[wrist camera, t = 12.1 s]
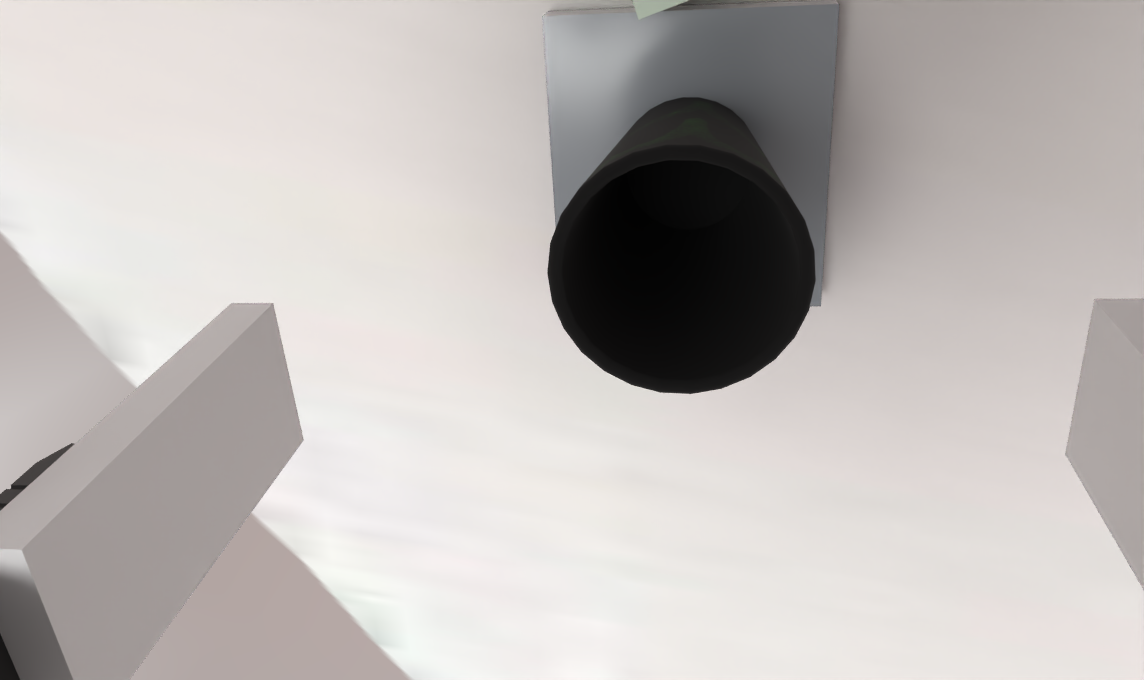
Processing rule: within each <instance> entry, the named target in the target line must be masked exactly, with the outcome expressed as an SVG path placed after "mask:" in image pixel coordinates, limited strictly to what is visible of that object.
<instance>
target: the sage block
mask: <svg viewBox="0 0 1144 680" xmlns="http://www.w3.org/2000/svg"><path fill="white" fill-rule="evenodd" d="M686 1H689V0H632V2H633V5H634V7H635V10H636V13H637V16H638V19H642V18H645V17H647V16H650V15H652V14H655V13H657V12H660V11H663V10H665V9H668V8H670V7H673V6H676V5H678V4H681V3H683V2H686Z"/></svg>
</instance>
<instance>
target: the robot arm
mask: <svg viewBox="0 0 1144 680" xmlns="http://www.w3.org/2000/svg"><path fill="white" fill-rule="evenodd" d="M303 440H304V439H303V435H302V430H301V426H300V421H299V417H298V413H297V408H296V404H295V399H294V395H293V390H292V386H291V381H290V377H289V372H288V368H287V363H286V359H285V354H284V350H283V345H282V341H281V337H280V332H279V328H278V323H277V319H276V314H275V310H274V305H273V303H231V304H230V305H229V306H228V307H227V308H226V309H225V310H224V311H222V312H221V313H220V314H219V315H218V316H217V317H216V318H215V319H213V320H212V321H211V322H210V323H209V324H208V325H207V326H206V327H205V328H203V329H202V330H201V331H200V332H199V333H198V334H197V335H196V336H195V337H193V338H192V339H191V340H190V341H189V342H188V343H187V344H186V345H185V346H183V347H182V348H181V349H180V350H179V351H178V352H177V353H176V354H174V355H173V356H172V357H171V358H170V359H169V360H168V361H167V362H166V363H164V364H163V365H162V366H161V367H160V368H159V369H158V370H157V371H156V372H154V373H153V374H152V375H151V376H150V377H149V378H148V379H147V380H146V381H144V382H143V383H142V384H141V385H140V386H139V387H138V388H137V389H135V390H134V391H133V392H132V393H131V394H130V395H129V396H128V397H127V398H126V399H124V400H123V401H122V402H121V403H120V404H119V405H118V406H117V407H115V408H114V409H113V410H112V411H111V412H110V413H109V414H108V415H107V416H105V417H104V418H103V419H102V420H101V421H100V422H99V423H98V424H97V425H95V426H94V427H93V428H92V429H91V430H90V431H89V432H88V433H86V434H85V435H84V436H83V437H82V438H81V439H80V440H79V441H78V442H77V443H75V444H72V443H71V444H70V445H68V446H66V447H64V448H63V449H61V450H59V451H57V452H55V453H53V454H51V455H50V456H48V457H46V458H45V459H42V460H40V461H39V462H37V463H36V464H34V465H33V466H32V467H31V468H30V469H29V470H28V471H26V472H25V473H24V474H23V475H22V476H21V477H20V478H19V479H17V480H16V481H15V482H14V483H13V484H12V485H11V489H6V490H5V491H4V492H2V493H1V494H0V680H130V679H131V677H132V676H133V675H134V673H135V672H136V670H137V669H138V668H139V666H140V665H141V664H142V662H143V660H144V659H145V658H146V657H147V655H148V654H149V652H150V651H151V650H152V648H153V647H154V646H155V644H156V643H157V641H158V640H159V639H160V637H161V636H162V635H163V633H164V632H165V630H166V629H167V628H168V626H169V625H170V623H171V622H172V621H173V619H174V618H175V617H176V615H177V614H178V613H179V611H180V610H181V608H182V607H183V606H184V604H185V603H186V601H187V600H188V599H189V597H190V596H191V595H192V593H193V592H194V590H195V589H196V588H197V586H198V585H199V583H200V582H201V581H202V579H203V578H204V577H205V575H206V574H207V573H208V571H209V570H210V568H211V567H212V566H213V564H214V563H215V562H216V560H217V559H218V557H219V556H220V555H221V553H222V552H223V551H224V549H225V548H226V546H227V545H228V543H229V542H230V541H231V540H232V538H233V537H234V535H235V534H236V533H237V531H238V530H239V528H240V527H241V526H242V524H243V523H244V522H245V520H246V519H247V517H248V516H249V515H250V513H251V512H252V511H253V509H254V508H255V506H256V505H257V504H258V502H259V501H260V500H261V498H262V497H263V495H264V494H265V493H266V491H267V490H268V489H269V487H270V486H271V484H272V483H273V482H274V480H275V479H276V478H277V476H278V475H279V473H280V472H281V471H282V469H283V468H284V466H285V465H286V464H287V462H288V461H289V460H290V458H291V457H292V455H293V454H294V453H295V451H296V450H297V449H298V447H299V446H300V444H301V443H302V442H303ZM1065 454H1066V456H1067V458H1068V460H1069V461H1070V463H1071V465H1072V467H1073V468H1074V470H1075V472H1076V474H1077V475H1078V477H1079V479H1080V480H1081V482H1082V484H1083V486H1084V487H1085V489H1086V491H1087V493H1088V494H1089V496H1090V498H1091V499H1092V501H1093V503H1094V505H1095V506H1096V508H1097V510H1098V512H1099V513H1100V515H1101V517H1102V519H1103V520H1104V522H1105V524H1106V525H1107V527H1108V529H1109V531H1110V532H1111V534H1112V536H1113V538H1114V539H1115V541H1116V543H1117V544H1118V546H1119V548H1120V550H1121V551H1122V553H1123V555H1124V557H1125V558H1126V560H1127V562H1128V564H1129V565H1130V567H1131V569H1132V570H1133V572H1134V574H1135V576H1136V577H1137V579H1138V581H1139V583H1140V584H1141V586H1142V588H1143V589H1144V299H1094V303H1093V309H1092V314H1091V320H1090V325H1089V330H1088V336H1087V341H1086V346H1085V352H1084V357H1083V362H1082V368H1081V373H1080V378H1079V384H1078V389H1077V394H1076V400H1075V405H1074V411H1073V416H1072V421H1071V427H1070V432H1069V437H1068V443H1067V448H1066V453H1065Z"/></svg>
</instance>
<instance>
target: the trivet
mask: <svg viewBox="0 0 1144 680" xmlns="http://www.w3.org/2000/svg"><path fill="white" fill-rule="evenodd" d="M838 17H839V3H838V2H837V1H836V0H801V1H778V2H754V3H730V4H706V5H682V6H673V7H670V8H668V9H665V10H663V11H660V12H657V13H655V14H652V15H650V16H647V17H645V18H642V19H638V16H637V13H636V10H635V7H634V8H610V9H587V10H563V11H548V12H547V13H546V14H544V15H543V16H542V20H543V36H544V51H545V67H546V83H547V98H548V114H549V129H550V145H551V161H552V176H553V192H554V207H555V223H556V226H557V224H558V221H559V218H560V216H561V214H562V212H563V211H564V209H565V208H566V207H567V205H568V204H569V202H570V201H571V199H572V198H573V196H574V195H575V194H576V192H577V191H578V189H579V188H580V187H581V186H582V185H583V183H584V182H585V181H586V180H587V179H588V178H589V176H590V175H591V174H592V173H593V172H594V170H595V169H596V168H597V167H598V166H599V165H600V163H601V162H602V161H603V160H604V159H605V158H606V156H607V155H608V154H609V153H610V152H611V151H612V149H613V148H614V147H615V146H616V145H617V143H618V142H619V141H620V140H621V139H622V138H623V136H624V135H625V134H626V133H627V132H628V131H629V129H630V128H631V127H632V126H633V125H634V124H635V122H636V121H637V120H638V119H639V118H641V117H642V116H643V115H644V114H645V113H646V112H647V111H649V110H650V109H652V108H653V107H655V106H657V105H659V104H661V103H663V102H665V101H669V100H673V99H677V98H681V97H700V98H704V99H708V100H712V101H716V102H718V103H720V104H722V105H723V106H725V107H727V108H729V109H731V110H732V111H733V112H734V113H735V114H736V115H738V116H739V117H740V118H741V119H742V120H743V121H744V122H745V124H746V125H747V127H748V128H749V130H750V132H751V133H752V135H753V136H754V138H755V140H756V141H757V143H758V144H759V146H760V148H761V149H762V151H763V153H764V154H765V156H766V157H767V159H768V161H769V162H770V164H771V166H772V167H773V169H774V170H775V172H776V174H777V175H778V177H779V178H780V180H781V182H782V183H783V185H784V187H785V188H786V190H787V191H788V193H789V195H790V196H791V198H792V200H793V201H794V203H795V204H796V206H797V208H798V209H799V211H800V213H801V214H802V216H803V217H804V219H805V221H806V224H807V228H808V231H809V234H810V237H811V240H812V243H813V247H814V250H815V275H816V282H815V286H814V290H813V295H812V299H811V303H810V306H821V294H822V278H823V262H824V245H825V229H826V213H827V196H828V180H829V164H830V147H831V131H832V115H833V98H834V82H835V66H836V49H837V33H838Z"/></svg>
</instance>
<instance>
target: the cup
mask: <svg viewBox="0 0 1144 680" xmlns="http://www.w3.org/2000/svg"><path fill="white" fill-rule="evenodd" d="M548 279H549V285H550V291H551V297H552V302H553V305H554V307H555V309H556V312H557V314H558V316H559V319H560V321H561V323H562V326H563V328H564V329H565V331H566V332H567V333H568V335H569V336H570V337H571V339H572V340H573V341H574V343H575V344H576V345H577V347H578V348H579V349H580V351H581V352H582V353H583V354H585V355H586V356H587V357H588V358H589V359H591V360H592V361H593V362H594V363H595V364H597V365H598V366H599V367H600V368H601V369H603V370H604V371H605V372H607V373H609V374H611V375H613V376H615V377H617V378H619V379H621V380H623V381H625V382H627V383H629V384H631V385H634V386H638V387H642V388H646V389H650V390H653V391H657V392H663V393H685V394H693V393H699V392H705V391H710V390H716V389H722V388H724V387H727V386H729V385H732V384H734V383H737V382H739V381H741V380H744V379H746V378H749V377H751V376H752V375H754V374H755V373H756V372H758V371H759V370H761V369H762V368H764V367H765V366H766V365H768V364H769V363H771V362H772V361H774V360H775V359H776V358H777V357H778V355H779V354H780V353H781V352H782V351H783V350H784V349H785V348H786V347H787V345H788V344H789V343H790V342H791V341H792V340H793V339H794V338H795V336H796V334H797V332H798V330H799V328H800V326H801V324H802V323H803V321H804V319H805V317H806V315H807V313H808V311H809V308H810V303H811V299H812V295H813V290H814V286H815V282H816V275H815V250H814V247H813V243H812V240H811V237H810V234H809V231H808V228H807V224H806V221H805V219H804V217H803V216H802V214H801V213H800V211H799V209H798V208H797V206H796V204H795V203H794V201H793V200H792V198H791V196H790V195H789V193H788V191H787V190H786V188H785V187H784V185H783V183H782V182H781V180H780V178H779V177H778V175H777V174H776V172H775V170H774V169H773V167H772V166H771V164H770V162H769V161H768V159H767V157H766V156H765V154H764V153H763V151H762V149H761V148H760V146H759V144H758V143H757V141H756V140H755V138H754V136H753V135H752V133H751V132H750V130H749V128H748V127H747V125H746V124H745V122H744V121H743V120H742V119H741V118H740V117H739V116H738V115H736V114H735V113H734V112H733V111H732V110H731V109H729V108H727V107H725V106H723V105H722V104H720V103H718V102H716V101H712V100H708V99H704V98H700V97H681V98H677V99H673V100H669V101H665V102H663V103H661V104H659V105H657V106H655V107H653V108H652V109H650V110H649V111H647V112H646V113H645V114H644V115H643V116H642V117H641V118H639V119H638V120H637V121H636V122H635V124H634V125H633V126H632V127H631V128H630V129H629V131H628V132H627V133H626V134H625V135H624V136H623V138H622V139H621V140H620V141H619V142H618V143H617V145H616V146H615V147H614V148H613V149H612V151H611V152H610V153H609V154H608V155H607V156H606V158H605V159H604V160H603V161H602V162H601V163H600V165H599V166H598V167H597V168H596V169H595V170H594V172H593V173H592V174H591V175H590V176H589V178H588V179H587V180H586V181H585V182H584V183H583V185H582V186H581V187H580V188H579V189H578V191H577V192H576V194H575V195H574V196H573V198H572V199H571V201H570V202H569V204H568V205H567V207H566V208H565V209H564V211H563V212H562V214H561V216H560V218H559V221H558V224H557V226H556V229H555V232H554V235H553V237H552V240H551V243H550V252H549V263H548Z"/></svg>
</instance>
